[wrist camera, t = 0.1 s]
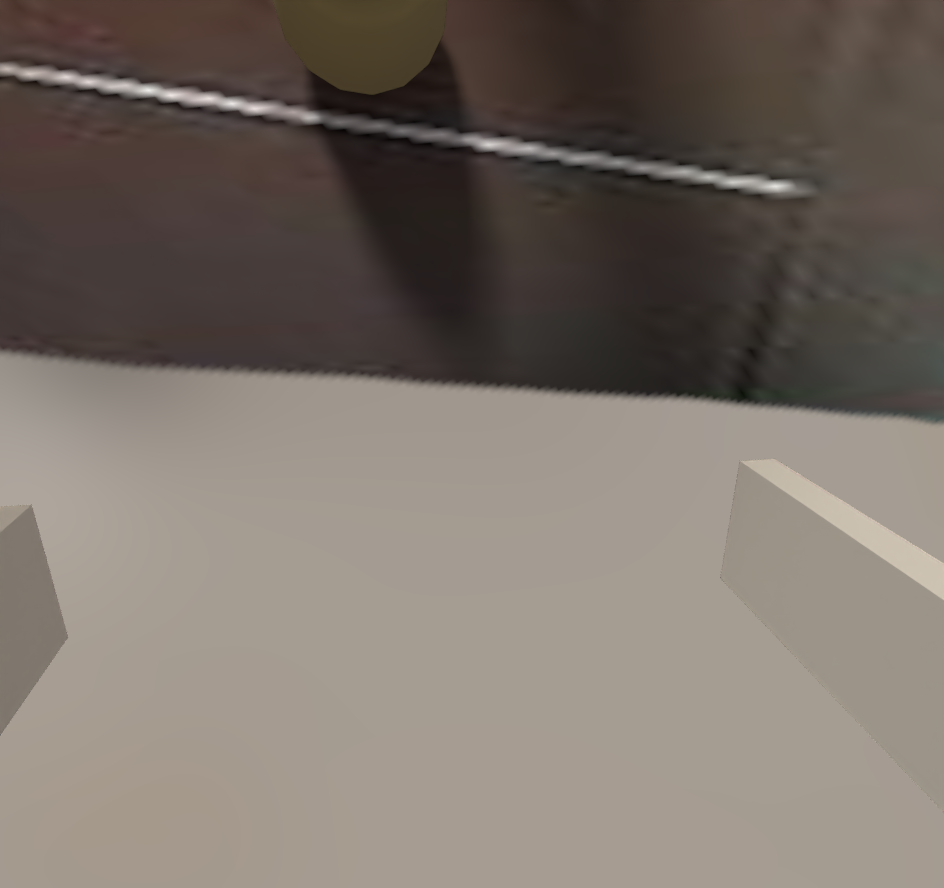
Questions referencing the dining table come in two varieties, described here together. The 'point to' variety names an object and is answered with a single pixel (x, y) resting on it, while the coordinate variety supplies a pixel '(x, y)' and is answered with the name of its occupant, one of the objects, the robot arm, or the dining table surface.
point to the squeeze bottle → (363, 39)
